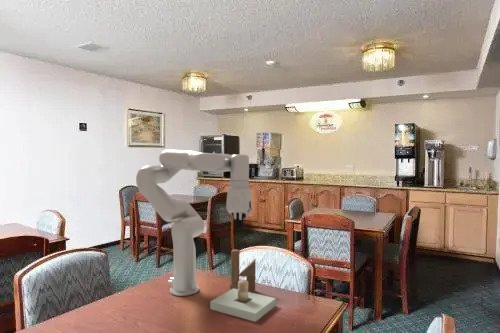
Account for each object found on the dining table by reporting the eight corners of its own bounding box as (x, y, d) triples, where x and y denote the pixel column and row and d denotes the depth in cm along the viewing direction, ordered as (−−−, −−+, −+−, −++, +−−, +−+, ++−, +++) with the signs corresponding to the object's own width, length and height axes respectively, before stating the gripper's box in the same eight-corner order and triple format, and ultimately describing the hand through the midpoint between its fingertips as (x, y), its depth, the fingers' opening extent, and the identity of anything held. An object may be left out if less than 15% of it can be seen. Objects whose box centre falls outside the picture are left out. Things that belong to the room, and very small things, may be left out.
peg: (235, 308, 134) (235, 282, 134) (241, 304, 138) (241, 279, 138) (244, 310, 132) (244, 284, 132) (250, 306, 136) (250, 281, 136)
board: (210, 309, 133) (210, 301, 133) (233, 295, 147) (233, 288, 147) (255, 321, 123) (255, 313, 123) (275, 305, 137) (275, 298, 137)
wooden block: (254, 293, 150) (255, 252, 149) (230, 292, 151) (230, 251, 150) (255, 290, 153) (255, 249, 153) (231, 289, 154) (231, 249, 154)
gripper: (219, 184, 143) (219, 228, 144) (250, 185, 136) (250, 232, 136) (229, 183, 150) (229, 225, 150) (259, 184, 142) (259, 229, 142)
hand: (239, 228), depth 143 cm, fingers closed
